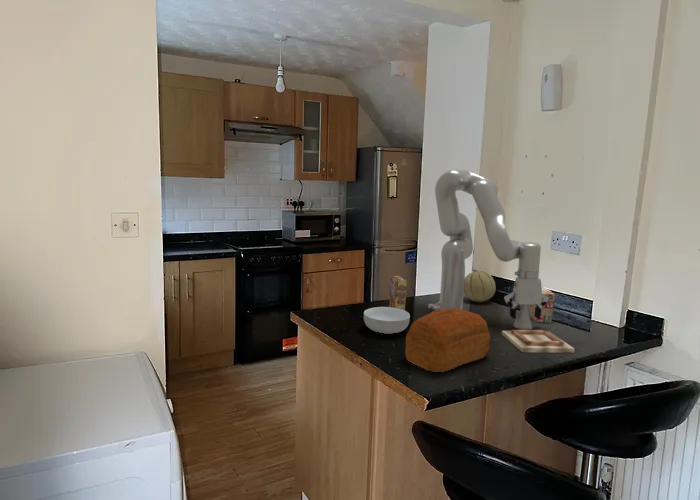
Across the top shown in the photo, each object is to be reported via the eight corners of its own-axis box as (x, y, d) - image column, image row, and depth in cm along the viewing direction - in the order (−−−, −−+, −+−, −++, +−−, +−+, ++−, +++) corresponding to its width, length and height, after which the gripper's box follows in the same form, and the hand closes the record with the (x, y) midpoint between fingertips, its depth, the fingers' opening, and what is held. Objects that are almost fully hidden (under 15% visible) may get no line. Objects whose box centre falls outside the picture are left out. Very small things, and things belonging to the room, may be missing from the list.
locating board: (522, 352, 162) (522, 344, 161) (501, 334, 179) (502, 327, 179) (574, 352, 163) (574, 345, 163) (548, 335, 181) (549, 328, 180)
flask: (532, 326, 191) (534, 301, 190) (532, 331, 185) (535, 306, 183) (513, 323, 194) (515, 299, 192) (512, 328, 187) (515, 303, 185)
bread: (493, 357, 156) (497, 310, 154) (440, 378, 139) (443, 324, 136) (453, 343, 168) (456, 299, 166) (399, 360, 151) (402, 311, 149)
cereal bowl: (353, 330, 178) (354, 312, 176) (382, 321, 190) (383, 304, 189) (390, 342, 166) (391, 323, 165) (418, 332, 178) (419, 314, 177)
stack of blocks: (519, 308, 218) (521, 281, 216) (532, 308, 218) (535, 281, 216) (536, 322, 197) (539, 293, 195) (552, 323, 197) (555, 293, 195)
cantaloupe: (495, 307, 217) (497, 274, 215) (461, 303, 221) (464, 271, 218) (493, 299, 232) (496, 268, 229) (461, 296, 235) (464, 266, 233)
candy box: (405, 316, 197) (407, 280, 195) (395, 317, 196) (397, 280, 194) (398, 310, 206) (400, 275, 204) (388, 310, 205) (390, 275, 203)
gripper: (510, 276, 181) (507, 320, 184) (554, 276, 183) (551, 320, 185) (502, 272, 189) (499, 315, 191) (545, 272, 190) (542, 315, 193)
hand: (525, 317), depth 188 cm, fingers open, 9 cm apart
